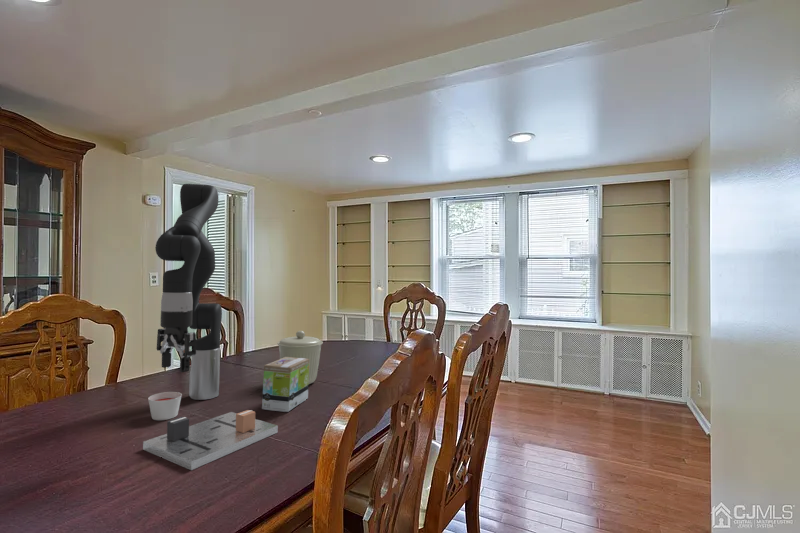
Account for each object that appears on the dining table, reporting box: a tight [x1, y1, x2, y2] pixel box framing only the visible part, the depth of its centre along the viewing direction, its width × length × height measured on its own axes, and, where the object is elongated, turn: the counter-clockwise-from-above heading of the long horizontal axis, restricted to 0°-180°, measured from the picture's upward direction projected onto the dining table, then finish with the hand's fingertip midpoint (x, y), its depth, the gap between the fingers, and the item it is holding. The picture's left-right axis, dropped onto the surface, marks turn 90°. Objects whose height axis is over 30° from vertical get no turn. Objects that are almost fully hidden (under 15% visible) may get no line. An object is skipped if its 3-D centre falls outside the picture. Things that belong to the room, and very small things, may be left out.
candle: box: [147, 391, 183, 421], centre depth 127 cm, size 9×9×6 cm
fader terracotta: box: [236, 409, 256, 433], centre depth 113 cm, size 3×4×5 cm
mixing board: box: [142, 411, 279, 471], centre depth 110 cm, size 20×26×2 cm
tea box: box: [261, 357, 310, 413], centre depth 141 cm, size 15×10×15 cm
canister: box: [276, 330, 324, 385], centre depth 167 cm, size 18×18×21 cm
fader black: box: [166, 416, 190, 441], centre depth 107 cm, size 3×4×5 cm
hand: (175, 369), depth 110 cm, fingers open, 8 cm apart
